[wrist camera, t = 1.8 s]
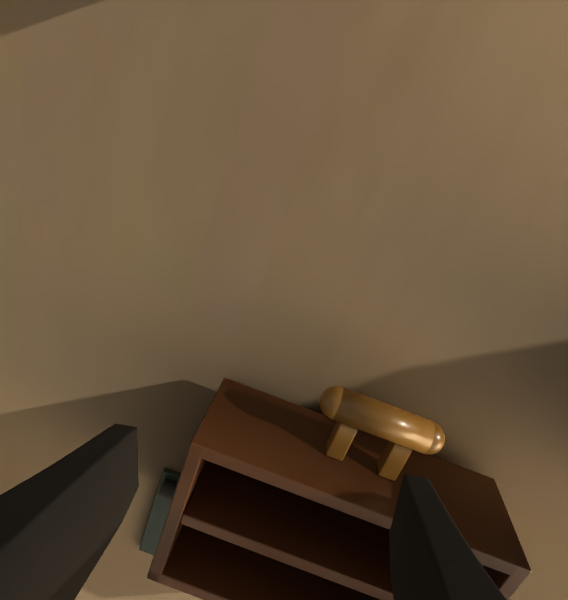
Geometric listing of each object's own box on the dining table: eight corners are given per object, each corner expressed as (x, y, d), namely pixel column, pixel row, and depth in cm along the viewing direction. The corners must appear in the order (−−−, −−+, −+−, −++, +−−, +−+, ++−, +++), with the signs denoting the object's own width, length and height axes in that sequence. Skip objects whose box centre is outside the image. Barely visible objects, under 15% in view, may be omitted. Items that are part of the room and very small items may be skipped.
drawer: (436, 689, 20) (577, 515, 16) (146, 578, 21) (211, 377, 16) (421, 586, 25) (527, 429, 21) (184, 496, 25) (242, 322, 21)
